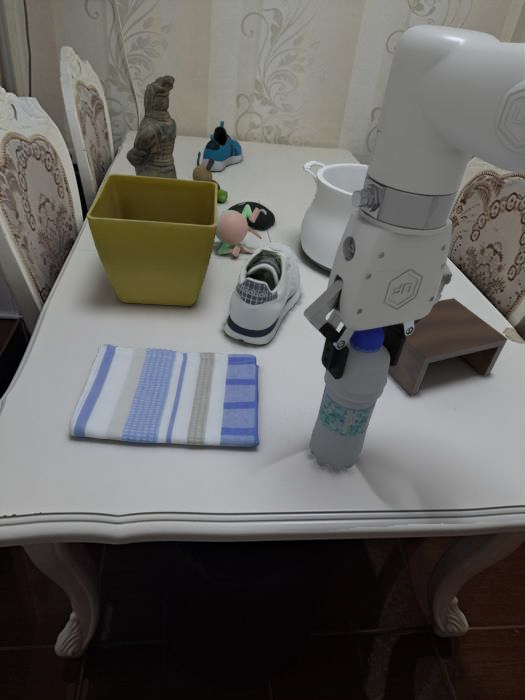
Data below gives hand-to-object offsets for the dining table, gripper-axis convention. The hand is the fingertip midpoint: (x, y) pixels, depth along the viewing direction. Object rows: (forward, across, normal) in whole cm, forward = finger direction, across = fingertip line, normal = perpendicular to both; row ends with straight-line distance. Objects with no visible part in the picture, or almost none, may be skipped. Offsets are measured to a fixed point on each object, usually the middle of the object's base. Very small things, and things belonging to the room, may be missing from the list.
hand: (359, 363), depth 52 cm
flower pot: (+15, -10, +45) cm, 49 cm away
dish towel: (+15, -16, +16) cm, 27 cm away
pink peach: (+15, +9, +57) cm, 60 cm away
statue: (+15, -4, +73) cm, 75 cm away
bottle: (+15, 0, 0) cm, 15 cm away
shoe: (+15, +28, +114) cm, 118 cm away
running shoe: (+15, +7, +35) cm, 39 cm away
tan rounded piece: (+15, +12, +85) cm, 87 cm away
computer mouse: (+15, +18, +70) cm, 74 cm away
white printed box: (+15, +32, +27) cm, 45 cm away
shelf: (+15, +25, +12) cm, 32 cm away
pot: (+15, +33, +47) cm, 59 cm away
